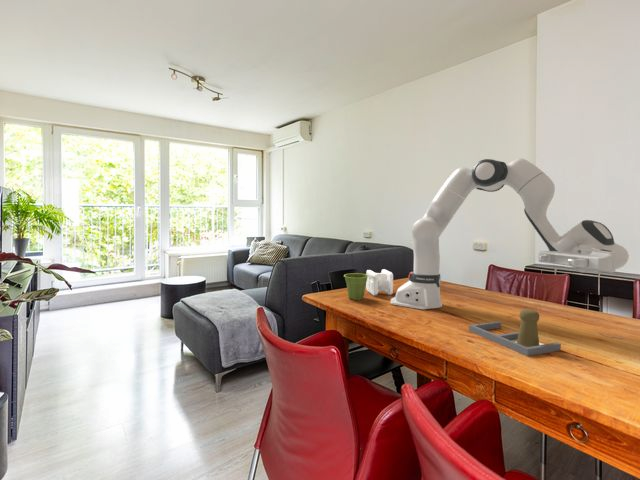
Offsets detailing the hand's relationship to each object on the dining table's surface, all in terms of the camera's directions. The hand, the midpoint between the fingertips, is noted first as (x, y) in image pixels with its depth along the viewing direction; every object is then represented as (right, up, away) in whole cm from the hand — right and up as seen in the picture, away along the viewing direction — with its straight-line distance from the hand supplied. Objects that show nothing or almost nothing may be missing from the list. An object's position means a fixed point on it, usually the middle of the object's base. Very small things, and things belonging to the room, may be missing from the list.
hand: (555, 260), depth 106 cm
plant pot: (-56, -22, +58) cm, 84 cm away
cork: (-10, -26, -2) cm, 28 cm away
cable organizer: (-43, -21, +68) cm, 84 cm away
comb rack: (-11, -26, +4) cm, 28 cm away
